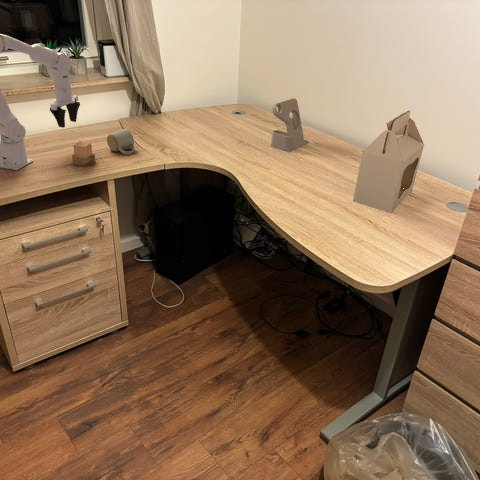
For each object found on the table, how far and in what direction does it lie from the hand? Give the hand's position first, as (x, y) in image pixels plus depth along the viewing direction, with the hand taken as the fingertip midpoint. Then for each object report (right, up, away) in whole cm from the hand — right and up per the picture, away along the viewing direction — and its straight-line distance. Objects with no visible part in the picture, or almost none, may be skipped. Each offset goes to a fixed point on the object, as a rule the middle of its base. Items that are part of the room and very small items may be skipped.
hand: (67, 124), depth 178 cm
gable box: (+115, -29, -17) cm, 119 cm away
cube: (+8, -13, -7) cm, 17 cm away
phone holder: (+87, -3, +23) cm, 90 cm away
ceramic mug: (+19, -9, +7) cm, 23 cm away
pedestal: (+8, -16, -5) cm, 18 cm away
